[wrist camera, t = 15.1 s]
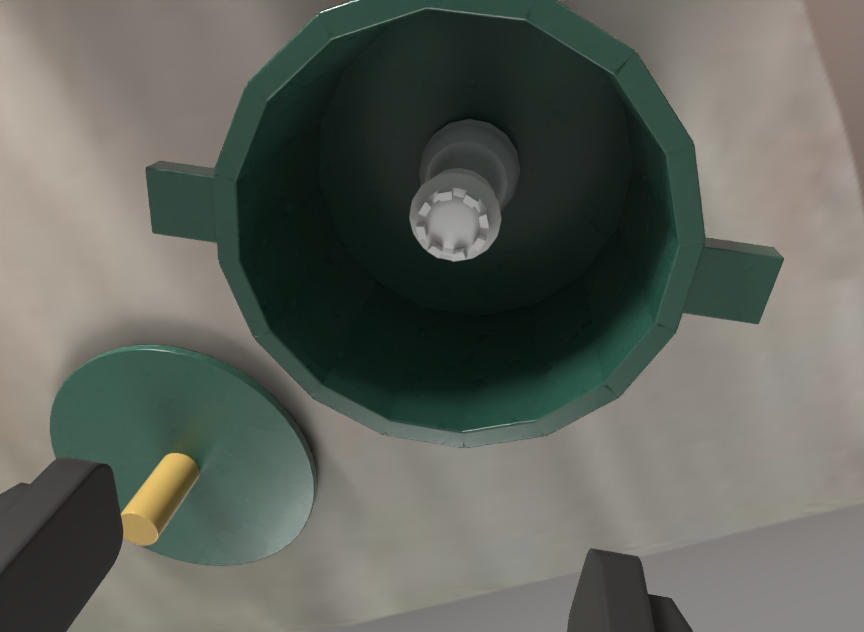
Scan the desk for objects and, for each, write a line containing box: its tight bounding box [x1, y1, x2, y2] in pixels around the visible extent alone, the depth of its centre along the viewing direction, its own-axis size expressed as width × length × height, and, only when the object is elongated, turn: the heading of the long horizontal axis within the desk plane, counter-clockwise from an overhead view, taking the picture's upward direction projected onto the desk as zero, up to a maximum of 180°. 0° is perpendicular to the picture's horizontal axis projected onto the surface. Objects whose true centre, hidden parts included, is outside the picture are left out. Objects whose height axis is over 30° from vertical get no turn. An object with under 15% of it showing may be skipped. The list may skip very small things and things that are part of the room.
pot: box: [146, 0, 784, 448], centre depth 25 cm, size 16×21×10 cm
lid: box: [50, 345, 317, 566], centre depth 37 cm, size 17×17×6 cm
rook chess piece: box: [409, 119, 520, 262], centre depth 25 cm, size 4×4×8 cm
